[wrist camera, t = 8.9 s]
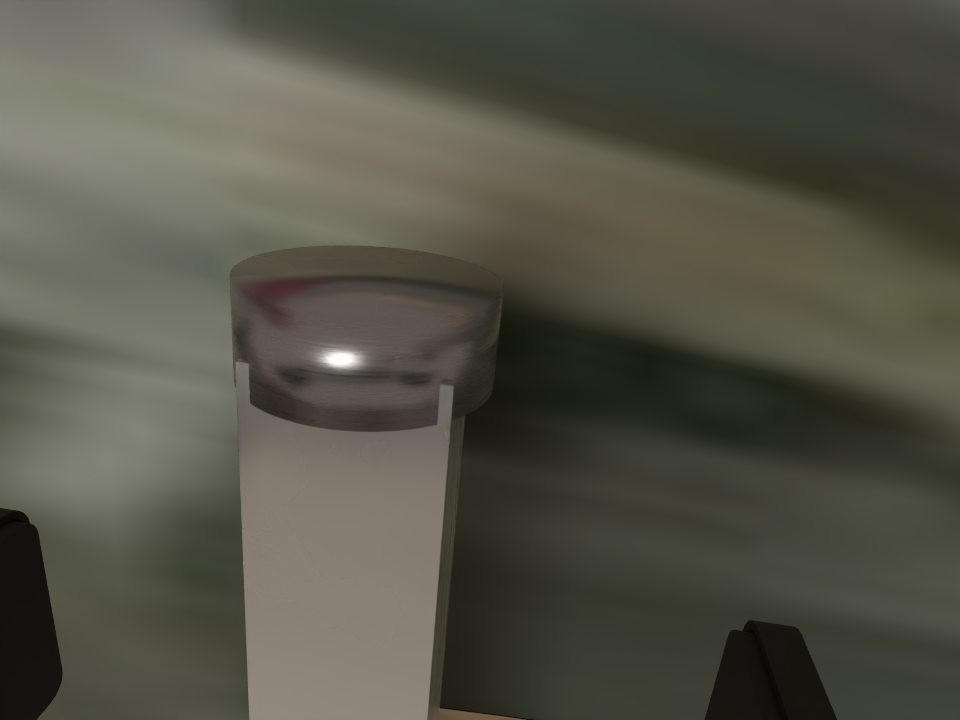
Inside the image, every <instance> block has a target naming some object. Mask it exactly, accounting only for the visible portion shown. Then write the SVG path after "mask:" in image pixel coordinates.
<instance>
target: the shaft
mask: <svg viewBox="0 0 960 720" xmlns="http://www.w3.org/2000/svg"><path fill="white" fill-rule="evenodd" d="M230 294H231V319H232V344H233V369H234V382H235V387H236V389H237V413H238V438H239V464H240V489H241V515H242V541H243V566H244V592H245V617H246V643H247V668H248V694H249V719H250V720H439V711H440V699H441V688H442V676H443V665H444V653H445V642H446V630H447V619H448V607H449V596H450V584H451V573H452V561H453V550H454V538H455V527H456V515H457V504H458V492H459V481H460V469H461V458H462V446H463V435H464V424H465V415H467V414H469V413H471V412H473V411H474V410H476V409H477V408H479V407H480V406H482V405H483V404H484V403H485V402H486V401H487V400H488V398H489V397H490V396H491V394H492V391H493V388H494V378H495V368H496V358H497V348H498V339H499V329H500V319H501V309H502V299H503V284H502V282H501V280H500V279H499V278H498V277H497V276H496V275H494V274H493V273H491V272H489V271H487V270H486V269H484V268H481V267H479V266H476V265H474V264H471V263H468V262H465V261H462V260H458V259H454V258H451V257H446V256H442V255H437V254H432V253H426V252H420V251H413V250H406V249H397V248H386V247H372V246H314V247H301V248H292V249H284V250H278V251H273V252H268V253H264V254H260V255H256V256H253V257H250V258H248V259H246V260H243V261H241V262H240V263H238V264H237V265H235V266H234V267H233V268H232V270H231V272H230Z"/></svg>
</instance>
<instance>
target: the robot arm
mask: <svg viewBox="0 0 960 720" xmlns="http://www.w3.org/2000/svg"><path fill="white" fill-rule="evenodd" d="M61 681H62V665H61V660H60V654H59V648H58V643H57V637H56V631H55V625H54V620H53V614H52V608H51V603H50V597H49V591H48V586H47V580H46V574H45V569H44V563H43V557H42V551H41V546H40V540H39V534H38V531H37V528H36V527H35V526H34V525H32V524H30V522H29V519H28V517H27V516H26V515H25V514H24V513H23V512H20V511H16V510H9V509H3V508H0V720H37V719H38V717H39V716H40V715H41V714H42V713H43V711H44V710H45V709H46V708H47V707H48V705H49V704H50V703H51V702H52V700H53V699H54V697H55V696H56V694H57V692H58V690H59V687H60V684H61ZM705 720H837V718H836V716H835V713H834V711H833V709H832V706H831V704H830V701H829V699H828V697H827V694H826V692H825V689H824V687H823V685H822V682H821V680H820V677H819V675H818V673H817V670H816V668H815V665H814V663H813V661H812V658H811V656H810V653H809V651H808V649H807V646H806V644H805V641H804V639H803V637H802V635H801V633H800V631H799V630H798V629H797V628H796V627H793V626H786V625H779V624H773V623H766V622H759V621H752V620H751V621H748V622H747V623H746V624H745V626H744V629H743V631H739V630H731V632H730V633H729V636H728V638H727V642H726V645H725V649H724V653H723V656H722V660H721V663H720V667H719V670H718V674H717V678H716V681H715V685H714V688H713V692H712V695H711V699H710V703H709V706H708V710H707V713H706V717H705Z"/></svg>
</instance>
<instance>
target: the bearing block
mask: <svg viewBox="0 0 960 720" xmlns="http://www.w3.org/2000/svg"><path fill="white" fill-rule="evenodd" d="M439 720H525V719H518V718H510V717H503V716H495V715H487V714H480V713H472V712H465V711H457V710H450V709H442V708H440V711H439Z"/></svg>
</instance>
